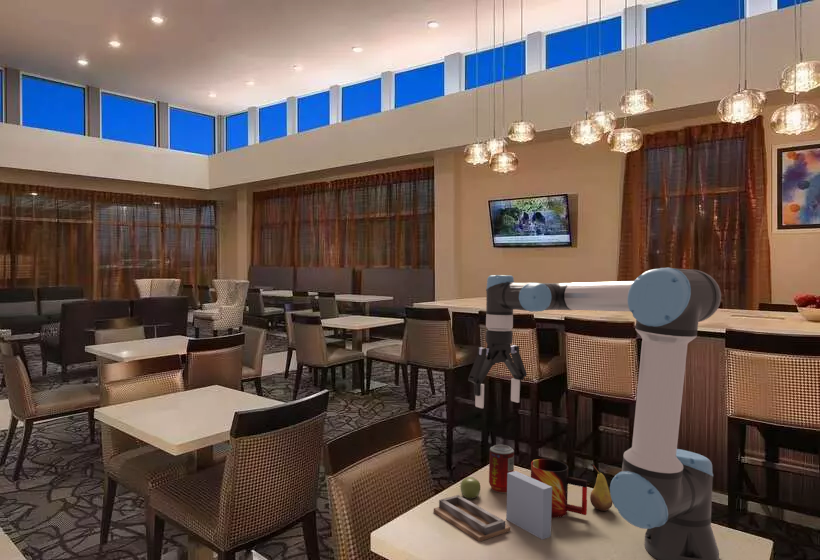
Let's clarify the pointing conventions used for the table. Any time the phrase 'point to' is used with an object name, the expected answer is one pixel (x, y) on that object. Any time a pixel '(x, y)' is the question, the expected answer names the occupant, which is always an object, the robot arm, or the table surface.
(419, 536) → the table surface
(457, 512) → the track base
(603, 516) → the table surface
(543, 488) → the door panel
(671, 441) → the robot arm
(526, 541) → the table surface
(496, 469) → the soda can
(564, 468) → the mug
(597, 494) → the fruit
